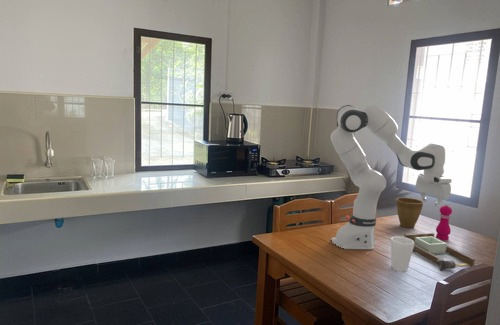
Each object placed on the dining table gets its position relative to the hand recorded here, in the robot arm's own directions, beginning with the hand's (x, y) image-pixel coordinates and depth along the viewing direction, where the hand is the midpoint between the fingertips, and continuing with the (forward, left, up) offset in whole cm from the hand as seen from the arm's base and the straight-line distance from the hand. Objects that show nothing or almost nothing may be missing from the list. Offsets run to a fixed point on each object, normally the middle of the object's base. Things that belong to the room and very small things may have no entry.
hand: (430, 203), depth 187 cm
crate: (-1, -4, -23) cm, 24 cm away
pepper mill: (+20, +11, -23) cm, 33 cm away
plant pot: (+14, +33, -23) cm, 43 cm away
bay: (-3, -11, -23) cm, 26 cm away
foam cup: (-30, -20, -23) cm, 43 cm away
